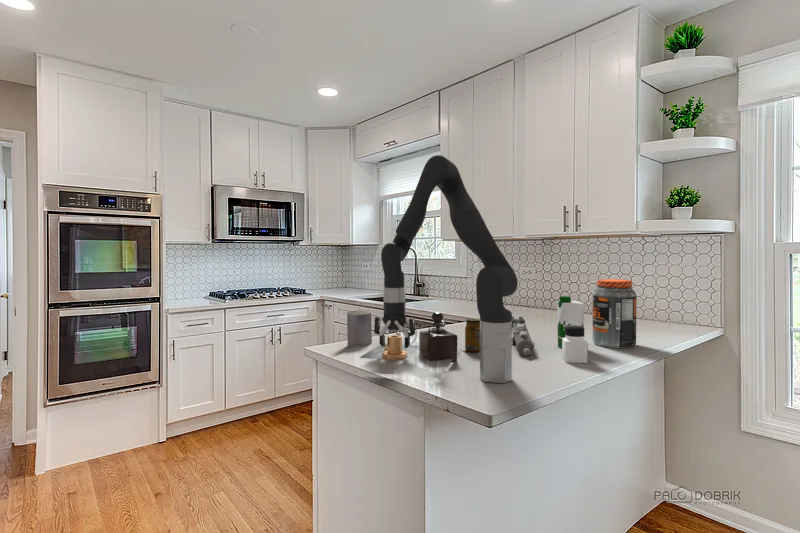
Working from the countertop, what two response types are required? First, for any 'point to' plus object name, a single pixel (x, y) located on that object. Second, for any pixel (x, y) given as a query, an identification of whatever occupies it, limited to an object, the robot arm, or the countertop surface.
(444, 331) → the coffee grinder
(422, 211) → the robot arm
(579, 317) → the milk carton
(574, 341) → the medicine bottle
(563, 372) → the countertop surface
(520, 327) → the hydraulic cylinder
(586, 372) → the countertop surface
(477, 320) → the condiment
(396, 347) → the faceted vase
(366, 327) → the pillar candle
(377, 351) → the carrier
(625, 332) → the supplement tub
